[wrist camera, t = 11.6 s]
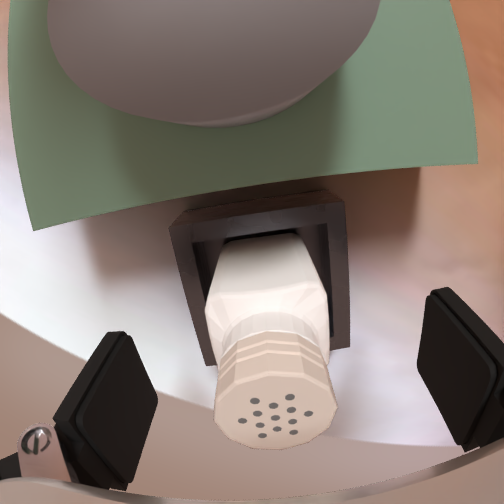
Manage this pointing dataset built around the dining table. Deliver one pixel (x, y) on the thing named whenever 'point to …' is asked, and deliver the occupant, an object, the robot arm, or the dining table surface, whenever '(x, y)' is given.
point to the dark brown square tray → (258, 225)
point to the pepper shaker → (270, 343)
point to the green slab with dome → (226, 96)
